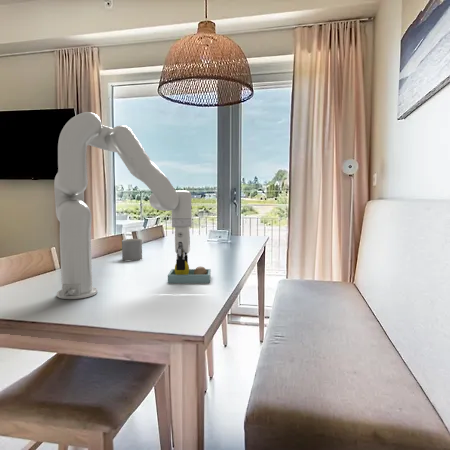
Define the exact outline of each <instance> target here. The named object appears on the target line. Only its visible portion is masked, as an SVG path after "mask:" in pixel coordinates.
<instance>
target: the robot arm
mask: <svg viewBox="0 0 450 450" xmlns="http://www.w3.org/2000/svg"><path fill="white" fill-rule="evenodd" d="M88 146H91V147H94V148H98V149H101V150H103V151H108V152H111V153H112V152H113V153H117V155H118V156H119V158H120V159H121V161H122V162H123V164H124V165H125V167H126V168H127V170H128V171H129V173H130V174H131V175H132V176H133V177H135V178H136V179H138V180H139V181H141V182H142V183H143V184H145V186H146V187H148V188H149V190H150V191H151V194H150V195H149V199H148V200H149V204H150V206H151V207H152V208H153V209H154V210H158V211H164V212H165V211H167V212H169V211H171V227H172V228H174V252H175V253H176V261H175V265H176V270H185V261H186V262H187V263H188V261H189V260H188V259H189V258H188V257H189V256H188V254H189V252H190V251H191V237H190V233H191V232H190V228H192V226H193V221H192V220H193V219H192V214H193V213H192V211H193V210H192V205H193V204H192V192H191V191H189V190H176V189H175V188H174V186H173V184H172V183H171V182H170V180H169V178H168V177H167V176H166V175H165V174H164V172H162V170H161V169H160V168H159V167H158V166H157V165H156V164H155V163H154V162H153V161H152V160H151V158H150V156H149V155H148V153H147V152H146V150H145V148H144V147H143V146H142V144H141V142H140V141H139V139H138V138H137V136H136V135H135V133H134V131H132V129H131V128H130V127H128V126H127V125H123V124H121V125H116V126H115V127H109V126H106V125H103V122H102V120H101V118H100V116H98V114H96V113H94V112H92V111H91V112H90V111H85V112H81V113H79V114H76V115H75V116H73V117H71V118H70V119H69V120H68V121H67V122H66V123H65V125H63V128H62V129H61V131H60V133H59V137H58V143H57V168H58V169H57V173H56V175H55V177H54V184H53V185H54V186H53V188H54V190H53V191H54V204H55V217H56V218H57V220H58V222H59V252H60V256H59V257H60V274H61V275H60V277H61V278H60V280H61V290H59V291H57V292H56V297H57V298H59V299H62V300H77V299H80V300H81V299H85V298H91V297H93V296H94V295H97V293H98V288H97V287H94V286H93V266H92V265H93V264H92V263H93V261H92V221H93V220H92V219H93V218H92V212H91V209H90V207H89V206H88V204H87V203H85V190H86V189H87V188H88V182H89V181H88V179H89V178H88V170H87V169H88V168H87V166H88V165H87V149H88ZM188 264H189V263H188Z"/></svg>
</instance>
